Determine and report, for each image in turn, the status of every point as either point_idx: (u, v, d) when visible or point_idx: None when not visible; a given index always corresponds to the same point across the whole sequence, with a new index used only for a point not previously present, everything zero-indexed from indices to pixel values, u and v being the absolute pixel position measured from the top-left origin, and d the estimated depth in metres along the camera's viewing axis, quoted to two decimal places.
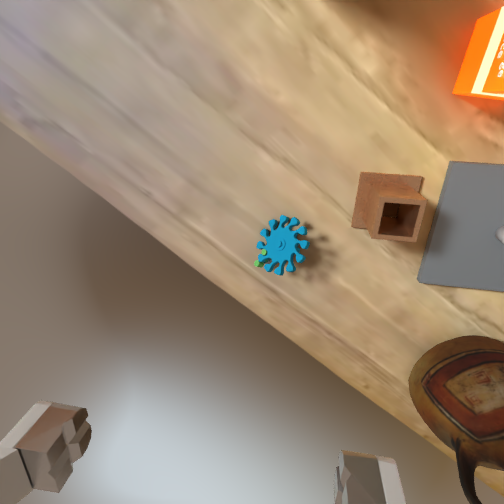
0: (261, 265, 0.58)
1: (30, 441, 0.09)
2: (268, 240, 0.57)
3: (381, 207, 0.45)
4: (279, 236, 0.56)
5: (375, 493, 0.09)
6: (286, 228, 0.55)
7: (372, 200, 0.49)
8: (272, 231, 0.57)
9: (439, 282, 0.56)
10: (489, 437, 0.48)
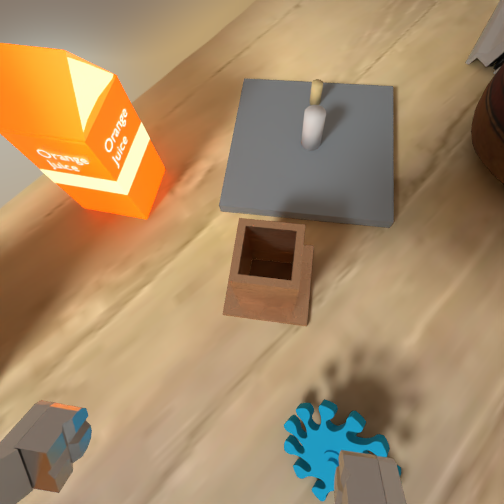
0: None
1: (30, 440, 0.09)
2: (332, 486, 0.28)
3: (246, 277, 0.29)
4: (320, 460, 0.29)
5: (375, 493, 0.09)
6: (304, 443, 0.29)
7: (250, 294, 0.32)
8: (314, 473, 0.29)
9: (389, 197, 0.39)
10: None
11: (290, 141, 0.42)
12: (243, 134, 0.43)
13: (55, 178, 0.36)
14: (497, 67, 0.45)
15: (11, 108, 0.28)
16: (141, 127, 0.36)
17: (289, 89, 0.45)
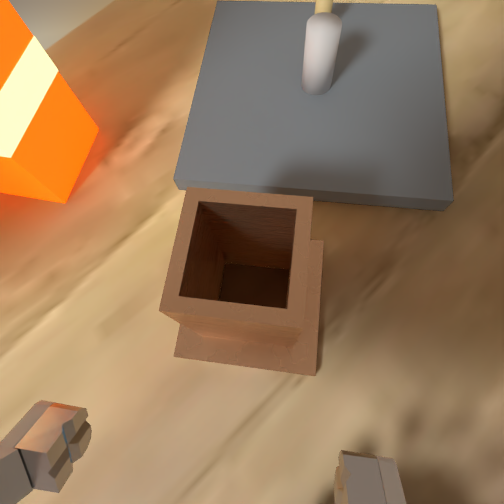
0: None
1: (30, 441, 0.09)
2: None
3: (194, 304, 0.14)
4: None
5: (375, 493, 0.09)
6: None
7: (213, 329, 0.18)
8: None
9: (443, 162, 0.24)
10: None
11: (284, 83, 0.28)
12: (214, 75, 0.29)
13: None
14: None
15: None
16: (34, 45, 0.22)
17: (283, 13, 0.31)
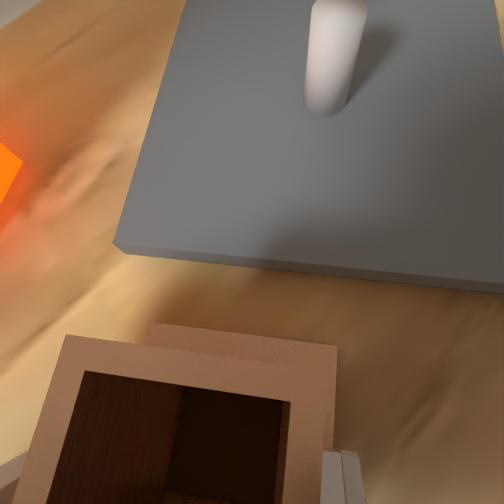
0: None
1: None
2: None
3: None
4: None
5: (335, 486, 0.09)
6: None
7: None
8: None
9: None
10: None
11: (279, 98, 0.20)
12: (181, 87, 0.20)
13: None
14: None
15: None
16: None
17: (278, 0, 0.23)
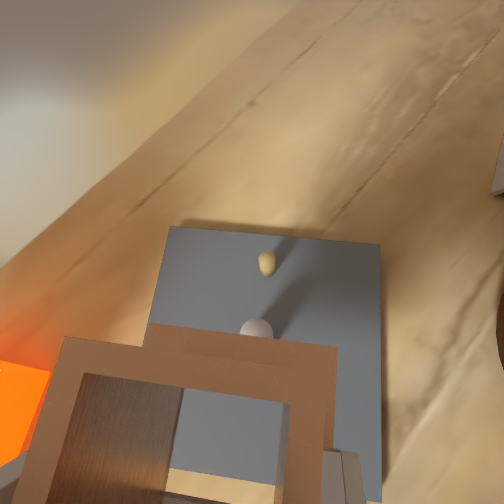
0: None
1: None
2: None
3: None
4: None
5: (335, 486, 0.09)
6: None
7: None
8: None
9: (375, 452, 0.25)
10: None
11: None
12: None
13: None
14: None
15: None
16: None
17: (232, 246, 0.32)
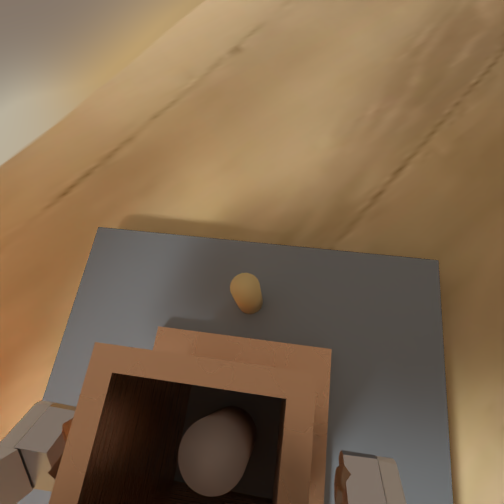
0: None
1: (30, 440, 0.09)
2: None
3: None
4: None
5: (375, 493, 0.09)
6: None
7: None
8: None
9: None
10: None
11: None
12: (68, 395, 0.17)
13: None
14: None
15: None
16: None
17: (194, 261, 0.20)
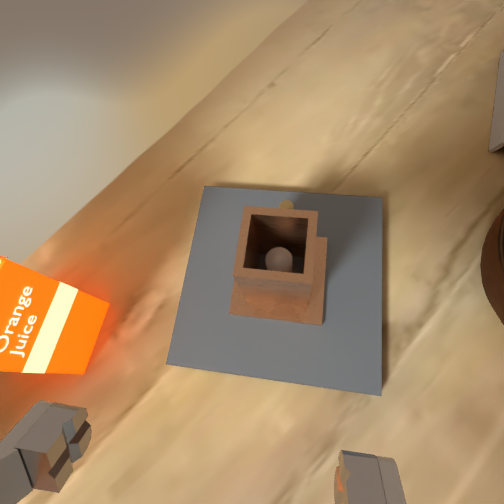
0: None
1: (30, 441, 0.09)
2: None
3: (252, 271, 0.25)
4: None
5: (375, 493, 0.09)
6: None
7: (258, 291, 0.29)
8: None
9: (376, 358, 0.31)
10: None
11: None
12: (200, 263, 0.36)
13: None
14: None
15: None
16: (61, 287, 0.29)
17: (257, 201, 0.38)
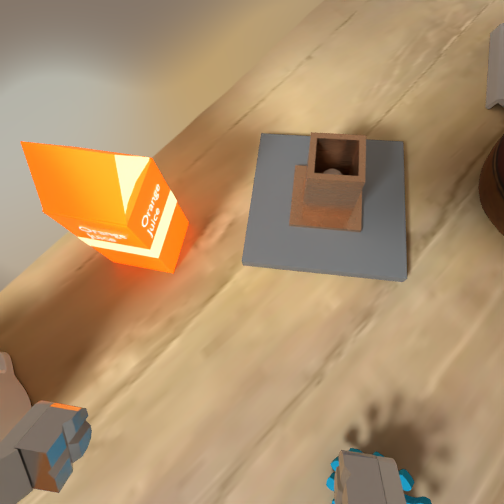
0: None
1: (30, 441, 0.09)
2: None
3: (321, 175, 0.36)
4: None
5: (375, 493, 0.09)
6: None
7: (318, 198, 0.39)
8: None
9: (402, 253, 0.41)
10: None
11: None
12: (262, 190, 0.46)
13: (91, 243, 0.39)
14: None
15: (59, 196, 0.30)
16: (170, 194, 0.39)
17: (304, 144, 0.48)
